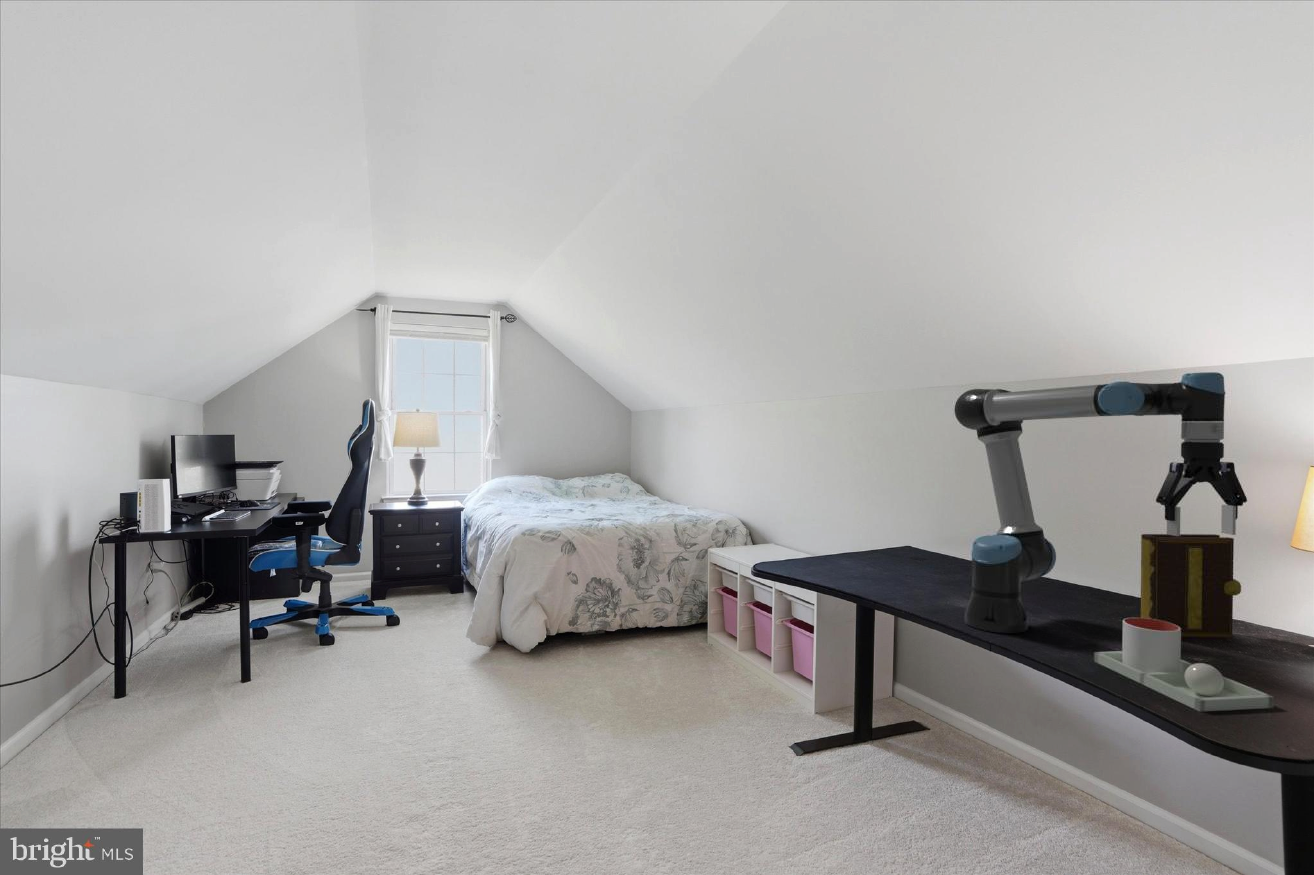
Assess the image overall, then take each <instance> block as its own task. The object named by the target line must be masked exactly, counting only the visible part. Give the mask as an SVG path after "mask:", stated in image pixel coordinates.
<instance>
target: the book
mask: <svg viewBox="0 0 1314 875" xmlns="http://www.w3.org/2000/svg"><path fill="white" fill-rule="evenodd" d="M1234 541H1235V540H1234V538H1233V537H1223V536H1220V535H1219V534H1210V533H1209V534H1206V533H1205V534H1203V533H1202V534H1200V533H1199V534H1197V533H1196V534H1195V533H1194V534H1193V533H1192V534H1191V533H1186V534H1185V533H1184V534H1183V533H1180V536H1173V535H1168V534H1167V533H1165V534H1164V533H1144V534H1143V533H1142V534H1141V542H1140V543H1141V545H1140V546H1141V548H1140V549H1141V551H1140V556H1141V557H1140V615H1139V616H1140V617H1139V618H1149V619H1156V620H1161V621H1166V622H1169V623H1172V624H1175V625H1177V626H1179V627H1180V628H1181V638H1221V639H1222V638H1223V639H1224V638H1226V639H1227V638H1230V639H1231V638H1233V618H1234V617H1233V615H1234V613H1233V612H1234V611H1233V606H1234V602H1233V601H1234V596H1238V595H1240V594H1241V592H1242V585H1241V583H1240V581H1238V580H1237V579H1235V578H1234V554H1235V552H1234V548H1235V547H1234V546H1235V545H1234Z"/></svg>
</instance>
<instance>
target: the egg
mask: <svg viewBox="0 0 1314 875" xmlns="http://www.w3.org/2000/svg"><path fill="white" fill-rule="evenodd" d="M1192 664H1193V665H1190V666H1189V667H1188V668H1187V669H1186V671H1185V674H1184V678H1185V681H1186V683H1187V685H1188V686H1189V688H1190V689H1192V690H1193V691H1194V692H1196V693H1198V694H1201V695H1205V696H1212V695H1216V694H1218V693H1219V692H1221V690H1222V689H1223V687H1224V679H1223V677H1224V676H1223V675H1222V673H1221V672H1220V671H1219V670H1218V669H1217V668H1215V667H1214V666H1213V665H1211V664H1207V663H1204V662H1198V663H1197V662H1196V663H1192Z"/></svg>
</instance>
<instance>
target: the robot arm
mask: <svg viewBox="0 0 1314 875" xmlns="http://www.w3.org/2000/svg"><path fill="white" fill-rule="evenodd" d="M1225 396H1226V391H1225V377H1224V375H1223V374H1222V373H1220V372H1217V371H1216V372H1213V371H1211V372H1204V371H1202V372H1189V373H1184V374H1183V375H1182V377H1181V380H1180V381H1179V382H1170V383H1169V382H1167V383H1144V382H1143V383H1141V382H1130V381H1114V382H1110V383H1105V384H1093V385H1092V384H1091V385H1089V384H1088V385H1081V386H1080V385H1079V386H1078V385H1077V386H1066V387H1056V388H1053V387H1052V388H1045V389H1032V390H1031V389H1030V390H1020V391H1019V390H1018V391H1010V390H1006V389H1001V388H997V389H996V388H995V389H991V388H990V389H989V388H986V389H984V388H973V389H968V390H966V391H965V392H963V393H962V394H960V396H958V398H957V399H956V402H955V405H954V409H953V410H954V415H955V418H956V419H957V421H958V422H959V423H960V424H961V426H963V427H965V428H966V429H969V430H974V431H976V435H977V439H978V441H980V442H981V443H983V444H984V447H985V450H986V456H987V460H988V462H987V463H988V467H989V471H990V477H991V482H992V488H993V492H994V493H993V494H994V496H995V503H996V508H997V512H998V518H999V523H1000V528H999V529H998V530H997V531H996V534H993V535H989V534H987V535H983V536H979V537H977V538H975V539H974V541H973V543H972V549H971V552H970V553H971V554H970V555H971V596H970V599H969V601H968V603H967V606H966V609H965V611H964V623H965V624H966V625H968V626H969V627H972V628H974V629H975V628H976V629H978V630H982V631H985V632H993V633H1000V634H1017V633H1023V632H1026V631H1028V629H1029V620H1028V617H1027V614H1026V611H1025V608H1024V605H1023V602H1022V599H1021V598H1022V597H1021V590H1022V588H1021V587H1022V585H1021V583H1022V582H1025V581H1030V580H1031V581H1032V580H1038V579H1040V578H1041V577H1044V576H1046V575H1048V574H1049V573H1050V572H1051V571H1052V570H1053V569H1054V567H1055V565H1056V562H1057V552H1056V549H1055V547H1054V545H1053V544H1052V542H1050V541H1049V540H1048V539H1047V538H1046V537H1045V534H1044V529H1043V527H1041V526H1040V525H1038V524H1037V523H1036V521H1035V516H1034V511H1033V507H1032V506H1033V505H1032V501H1031V496H1030V493H1029V486H1028V482H1027V477H1026V472H1025V467H1024V463H1023V458H1022V453H1021V447H1020V443H1019V442H1020V441H1019V438H1020V436H1021V435H1022V434H1023V426H1022V424H1023V423H1024V421H1031V420H1032V421H1033V420H1052V419H1053V420H1055V419H1057V420H1058V419H1074V418H1075V419H1076V418H1077V419H1078V418H1093V417H1094V418H1095V417H1117V416H1118V417H1120V416H1121V417H1122V416H1136V417H1139V416H1140V417H1144V416H1180V417H1181V419H1180V420H1181V429H1180V430H1181V431H1180V432H1181V434H1180V438H1181V439H1182V440H1184V441H1182V442H1181V443H1180V445H1181V446H1180V456H1181V458H1183V462H1175V461H1174V462H1173V461H1172V462H1169V466H1168V467H1169V468H1168V472H1167V475H1166V477H1165V479H1164V481H1163V484H1162V486H1161V487H1160V490H1159V492H1158V494H1157V496H1156V499H1155V502H1156V503H1157V504H1160V505H1161V506H1164V520H1165V521H1166V534H1168V535H1173V536H1180V534H1181V506H1180V507H1179V506H1178V504H1180V502H1181V501H1182V499H1184V497H1185V496H1186V494H1187V493H1188V492H1189V491H1190V489H1192V487H1193V485H1196V484H1197V483H1208V484H1210V485H1211V486H1212V488H1213V489H1214V491H1215V492H1216V493H1217V494H1218V496H1219V497H1220V498H1221V499H1222V501H1223V502H1224V503H1225V504H1221V517H1220V518H1221V524H1220V526H1221V530H1220V531H1221V534H1225V535H1232V536H1236V535H1237V534H1236V531H1237V530H1236V529H1237V528H1236V527H1237V526H1236V525H1237V523H1236V522H1237V521H1236V520H1238V513H1239V512H1238V509H1239V508H1238V507H1243V505H1244V503H1247V502H1248V498H1247V496H1246V494H1245V492H1244V488H1243V487H1242V485H1241V482H1240V481H1239V477H1238V476H1237V472H1236V469H1235V463H1234V462H1232V461H1221V460H1222V459H1223V458H1224V456H1225V444H1224V443H1223V442H1221V441H1222V440H1223V441H1224V438H1225V398H1226V397H1225Z"/></svg>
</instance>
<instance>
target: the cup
mask: <svg viewBox="0 0 1314 875" xmlns="http://www.w3.org/2000/svg"><path fill="white" fill-rule="evenodd" d="M1121 647H1122V649H1121V651H1122V661H1123V663H1124V664H1126V665H1128V666H1131V667H1133V668H1135V669H1137V670H1139V671H1142V672H1144V673H1153V672H1176V671H1180V667H1181V660H1182V659H1181V656H1182V654H1181V653H1182V651H1181V650H1182V637H1181V628H1180V627H1179V626H1177V625H1175V624H1172V623H1169V622H1166V621H1161V620H1156V619H1149V618H1140V617H1127V618H1124V619H1123V620H1122V646H1121Z"/></svg>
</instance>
